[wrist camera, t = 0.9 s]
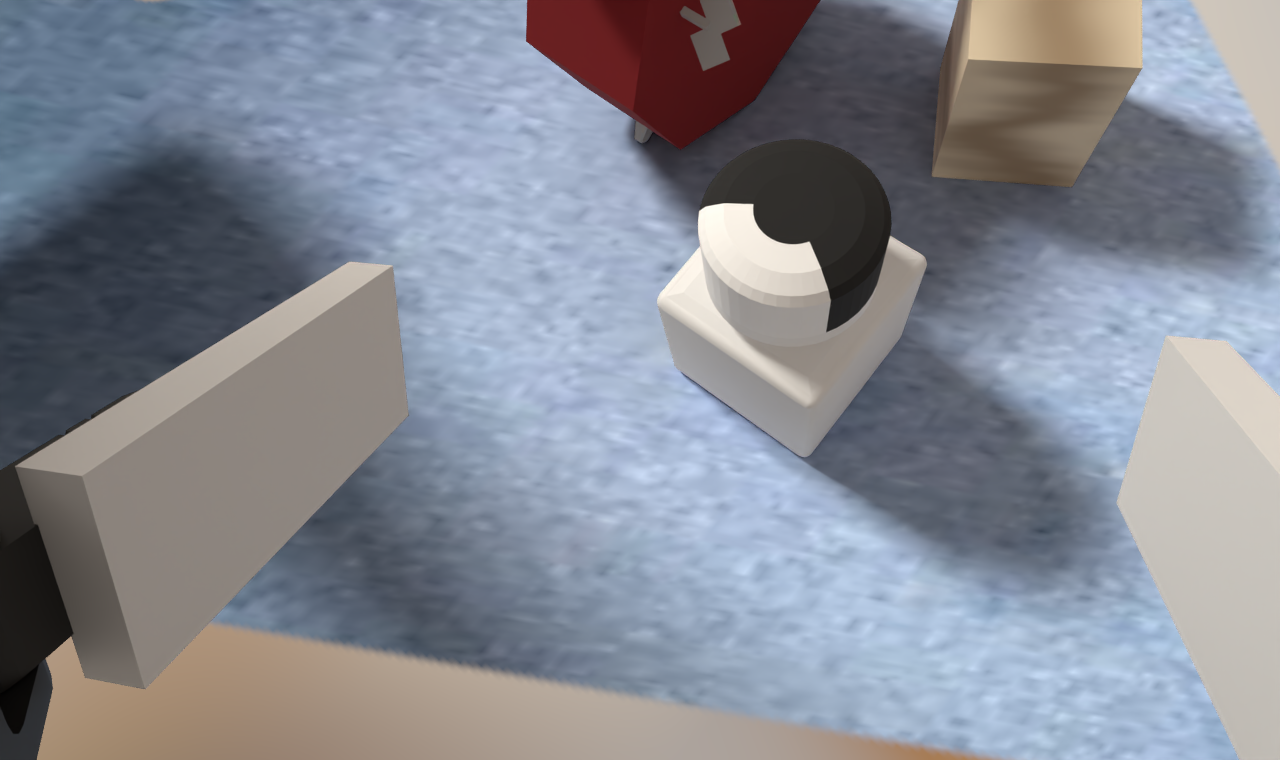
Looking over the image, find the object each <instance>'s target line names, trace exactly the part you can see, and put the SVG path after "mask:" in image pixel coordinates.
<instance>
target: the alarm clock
mask: <svg viewBox="0 0 1280 760" xmlns="http://www.w3.org/2000/svg"><path fill="white" fill-rule="evenodd" d="M819 2H820V0H527V30H526V41H527V42H528V43H529V44H530V45H532V46H533V47H534V48H536V49H537V50H538V51H539V52H541V53H542V54H543V55H545V56H546V57H547V58H549V59H550V60H551V61H552V62H554V63H555V64H556V65H558V66H559V67H560V68H561V69H563V70H564V71H565V72H567V73H568V74H569V75H571V76H572V77H573V78H574V79H576V80H577V81H578V82H580V83H581V84H582V85H584V86H585V87H586V88H588V89H589V90H591V91H592V92H594V93H595V94H597V95H598V96H600V97H601V98H603V99H604V100H606V101H607V102H609V103H610V104H612V105H614V106H615V107H617V108H618V109H620V110H621V111H623V112H624V113H626V114H627V115H629V116H630V117H632V118H633V119H635V120H636V122H635V137H634V139H636V140H637V141H639V142H640V143H644V142H647V141H648V139H649V138H650V136H651V134H652V132H654V133H656V134H657V135H659V136H660V137H662V138H663V139H665V140H666V141H668V142H669V143H671V144H672V145H674V146H675V147H677V148H679V149H680V150H681V149H682V148H684V147H685V146H687V145H688V144H690V143H691V142H693V141H694V140H696V139H697V138H699V137H700V136H702V135H703V134H705V133H706V132H708V131H709V130H711V129H712V128H714V127H715V126H717V125H718V124H720V123H721V122H723V121H724V120H726V119H727V118H729V117H730V116H732V115H733V114H735V113H736V112H738V111H739V110H741V109H742V108H744V107H745V106H747V105H748V104H750V103H751V102H753V101H754V100H755V99H756V97H757V96H758V94H759V93H760V91H761V90H762V88H763V86H764V85H765V83H766V82H767V80H768V79H769V77H770V76H771V74H772V73H773V71H774V70H775V68H776V67H777V65H778V64H779V62H780V61H781V59H782V58H783V56H784V55H785V53H786V52H787V50H788V49H789V47H790V46H791V44H792V43H793V41H794V40H795V38H796V37H797V35H798V34H799V32H800V30H801V29H802V27H803V26H804V24H805V23H806V21H807V20H808V18H809V17H810V15H811V14H812V12H813V11H814V9H815V8H816V6H817V5H818V3H819Z"/></svg>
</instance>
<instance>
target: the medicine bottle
mask: <svg viewBox="0 0 1280 760" xmlns="http://www.w3.org/2000/svg"><path fill="white" fill-rule="evenodd" d="M890 232H891V211H890V207H889V202H888V199H887V196H886V194H885V191H884V189H883V187H882V186H881V184H880V182H879V180H878V179H877V178H876V176H875V175H874V174H873V173H872V171H871V170H870V169H869V168H868V167H867V166H866V165H865V164H864V163H862V162H861V161H860V160H859V159H857V158H856V157H854V156H853V155H852V154H850V153H848V152H846V151H844V150H842V149H840V148H837V147H835V146H832V145H829V144H826V143H822V142H818V141H811V140H782V141H775V142H771V143H767V144H763V145H761V146H758V147H755V148H752V149H751V150H749V151H747V152H745V153H743V154H741V155H739V156H738V157H736V158H735V159H734V160H732V161H731V162H730V163H728V164H727V165H726V166H725V167H724V168H723V169H722V170H721V171H720V172H719V173H718V174H717V176H716V177H715V178H714V179H713V181H712V182H711V184H710V185H709V187H708V189H707V191H706V193H705V195H704V197H703V200H702V203H701V207H700V210H699V218H698V234H699V241H700V247H699V248H698V249H697V250H696V252H695V253H694V254H693V255H692V256H691V258H690V259H689V260H688V261H687V262H686V263H685V265H684V266H683V267H682V268H681V269H680V271H679V272H678V273H677V274H676V275H675V276H674V278H673V279H672V280H671V281H670V282H669V284H668V285H667V286H666V287H665V288H664V290H663V291H662V292H661V293H660V294H659V297H658V299H657V304H658V308H659V312H660V315H661V319H662V322H663V326H664V329H665V333H666V337H667V340H668V344H669V347H670V351H671V355H672V358H673V362H674V365H675V367H676V368H677V369H678V370H679V371H681V372H682V373H684V374H685V375H686V376H688V377H689V378H691V379H692V380H693V381H695V382H696V383H698V384H699V385H700V386H702V387H703V388H705V389H706V390H707V391H709V392H710V393H712V394H713V395H714V396H716V397H717V398H719V399H720V400H721V401H723V402H724V403H726V404H727V405H728V406H730V407H731V408H733V409H734V410H735V411H737V412H738V413H740V414H741V415H742V416H744V417H745V418H747V419H748V420H749V421H751V422H752V423H754V424H755V425H756V426H758V427H759V428H761V429H762V430H763V431H765V432H766V433H768V434H769V435H770V436H772V437H773V438H775V439H776V440H777V441H779V442H780V443H782V444H783V445H784V446H786V447H787V448H789V449H790V450H791V451H793V452H794V453H796V454H797V455H798V456H801V457H808V456H809V455H811V454H812V452H813V451H814V450H815V449H816V447H817V446H818V445H819V443H820V442H821V441H822V439H823V438H824V437H825V435H826V434H827V433H828V432H829V430H830V429H831V428H832V426H833V425H834V424H835V422H836V421H837V420H838V419H839V417H840V416H841V415H842V413H843V412H844V411H845V409H846V408H847V407H848V405H849V404H850V403H851V402H852V400H853V399H854V398H855V396H856V395H857V394H858V392H859V391H860V390H861V389H862V387H863V386H864V385H865V383H866V382H867V381H868V379H869V378H870V377H871V376H872V374H873V373H874V372H875V370H876V369H877V368H878V366H879V365H880V364H881V362H882V361H883V360H884V359H885V357H886V356H887V355H888V353H889V352H890V351H891V349H892V348H893V347H894V346H895V344H896V343H897V342H898V340H899V339H900V338H901V335H902V333H903V330H904V327H905V325H906V322H907V319H908V316H909V313H910V311H911V308H912V305H913V302H914V300H915V297H916V294H917V291H918V289H919V286H920V283H921V280H922V278H923V275H924V272H925V269H926V267H927V262H926V258H925V257H924V256H923V255H922V254H920V253H918V252H917V251H915V250H913V249H912V248H910V247H908V246H907V245H905V244H903V243H902V242H900V241H898V240H897V239H895V238H893V237H892V236H890Z"/></svg>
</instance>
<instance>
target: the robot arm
mask: <svg viewBox="0 0 1280 760" xmlns="http://www.w3.org/2000/svg"><path fill="white" fill-rule="evenodd" d="M408 416H409V414H408V404H407V395H406V386H405V376H404V367H403V357H402V348H401V339H400V329H399V320H398V310H397V301H396V292H395V282H394V273H393V266H392V265H381V264H370V263H359V262H348V263H346V264H345V265H343V266H342V267H340V268H338V269H337V270H335V271H333V272H332V273H330V274H328V275H327V276H325V277H324V278H322V279H320V280H319V281H317V282H315V283H314V284H312V285H311V286H309V287H307V288H306V289H304V290H302V291H301V292H299V293H297V294H296V295H294V296H293V297H291V298H289V299H288V300H286V301H284V302H283V303H281V304H279V305H278V306H276V307H275V308H273V309H271V310H270V311H268V312H266V313H265V314H263V315H261V316H260V317H258V318H257V319H255V320H253V321H252V322H250V323H248V324H247V325H245V326H243V327H242V328H240V329H239V330H237V331H235V332H234V333H232V334H230V335H229V336H227V337H226V338H224V339H222V340H221V341H219V342H217V343H216V344H214V345H212V346H211V347H209V348H208V349H206V350H204V351H203V352H201V353H199V354H198V355H196V356H194V357H193V358H191V359H190V360H188V361H186V362H185V363H183V364H181V365H180V366H178V367H176V368H175V369H173V370H172V371H170V372H168V373H167V374H165V375H163V376H162V377H160V378H158V379H157V380H155V381H154V382H152V383H150V384H149V385H147V386H145V387H144V388H142V389H141V390H138V391H136V392H133V393H130V394H127V395H125V396H122V397H121V398H119V399H117V400H116V401H114V402H112V403H111V404H109V405H107V406H106V407H104V408H102V409H101V410H99V411H97V412H96V413H94V414H92V415H91V419H84V420H83V421H81V422H79V423H78V424H76V425H74V426H73V427H71V428H69V429H68V430H66V434H65V435H58V436H56V437H55V438H53V439H51V440H50V441H48V442H46V443H45V444H43V445H41V446H40V447H38V448H36V449H35V450H33V451H31V452H30V453H28V454H26V455H25V456H23V457H22V458H20V459H18V460H17V461H15V462H13V463H12V464H10V465H8V466H7V467H5V468H3V469H2V470H0V760H37V755H38V751H39V747H40V742H41V738H42V733H43V729H44V725H45V720H46V716H47V712H48V707H49V703H50V698H51V694H52V689H53V687H52V678H51V673H50V670H49V667H48V665H47V662H46V659H45V658H46V657H48V656H49V655H50V654H51V653H52V652H53V651H54V650H56V649H57V648H58V647H59V646H60V645H61V644H63V642H65V641H66V640H67V639H68V638H69V637H70V636H71V637H72V639H73V643H74V645H75V649H76V651H77V655H78V657H79V660H80V664H81V667H82V669H83V673H84V676H85V678H90V679H95V680H100V681H105V682H110V683H115V684H120V685H125V686H131V687H136V688H141V689H146V688H147V687H148V686H149V684H151V683H152V682H153V681H154V679H155V678H156V677H157V676H158V675H159V674H160V673H161V672H162V671H163V670H164V669H165V668H166V667H167V666H168V665H169V664H170V663H171V662H172V661H173V660H174V659H175V658H176V657H177V656H178V654H180V652H181V651H182V650H183V649H184V648H185V647H186V646H187V645H188V644H189V643H190V642H191V641H192V640H193V639H194V638H195V637H196V636H197V635H198V634H199V633H200V632H201V631H202V630H203V629H204V628H205V627H206V626H207V624H208V623H209V622H210V621H211V620H212V619H213V618H214V617H215V616H216V615H217V614H218V613H219V612H220V611H221V610H222V609H223V608H224V607H225V606H226V605H227V604H228V603H229V602H230V601H231V600H232V599H233V597H234V596H235V595H236V594H237V593H238V592H239V591H240V590H241V589H242V588H243V587H244V586H245V585H246V584H247V583H248V582H249V581H250V580H251V579H252V578H253V577H254V576H255V575H256V574H257V573H258V571H259V570H260V569H261V568H262V567H263V566H264V565H265V564H266V563H267V562H268V561H269V560H270V559H271V558H272V557H273V556H274V555H275V554H276V553H277V552H278V551H279V550H280V549H281V548H282V547H283V546H284V544H285V543H286V542H287V541H288V540H289V539H290V538H291V537H292V536H293V535H294V534H295V533H296V532H297V531H298V530H299V529H300V528H301V527H302V526H303V525H304V524H305V523H306V522H307V521H308V520H309V519H310V517H311V516H312V515H313V514H314V513H315V512H316V511H317V510H318V509H319V508H320V507H321V506H322V505H323V504H324V503H325V502H326V501H327V500H328V499H329V498H330V497H331V496H332V495H333V494H334V493H335V491H336V490H337V489H338V488H339V487H340V486H341V485H342V484H343V483H344V482H345V481H346V480H347V479H348V478H349V477H350V476H351V475H352V474H353V473H354V472H355V471H356V470H357V469H358V468H359V467H360V466H361V464H362V463H363V462H364V461H365V460H366V459H367V458H368V457H369V456H370V455H371V454H372V453H373V452H374V451H375V450H376V449H377V448H378V447H379V446H380V445H381V444H382V443H383V442H384V441H385V440H386V439H387V437H388V436H389V435H390V434H391V433H392V432H393V431H394V430H395V429H396V428H397V427H398V426H399V425H400V424H401V423H402V422H403V421H404V420H405V419H406V418H407V417H408ZM1117 505H1118V507H1119V509H1120V511H1121V513H1122V515H1123V517H1124V519H1125V521H1126V523H1127V526H1128V528H1129V530H1130V532H1131V534H1132V536H1133V538H1134V540H1135V542H1136V544H1137V546H1138V549H1139V551H1140V553H1141V555H1142V557H1143V559H1144V561H1145V563H1146V565H1147V567H1148V569H1149V572H1150V574H1151V576H1152V578H1153V580H1154V582H1155V584H1156V586H1157V588H1158V590H1159V592H1160V594H1161V597H1162V599H1163V601H1164V603H1165V605H1166V607H1167V609H1168V611H1169V613H1170V615H1171V617H1172V620H1173V622H1174V624H1175V626H1176V628H1177V630H1178V632H1179V634H1180V636H1181V638H1182V640H1183V642H1184V645H1185V647H1186V649H1187V651H1188V653H1189V655H1190V657H1191V659H1192V661H1193V663H1194V665H1195V668H1196V670H1197V672H1198V674H1199V676H1200V678H1201V680H1202V682H1203V684H1204V686H1205V688H1206V691H1207V693H1208V695H1209V697H1210V699H1211V701H1212V703H1213V705H1214V707H1215V709H1216V711H1217V713H1218V716H1219V718H1220V720H1221V722H1222V724H1223V726H1224V728H1225V730H1226V732H1227V734H1228V736H1229V739H1230V741H1231V743H1232V745H1233V747H1234V749H1235V751H1236V753H1237V755H1238V757H1239V759H1240V760H1280V396H1279V395H1278V394H1277V393H1276V392H1275V391H1274V390H1273V389H1272V388H1271V387H1270V386H1269V385H1268V384H1267V383H1266V382H1265V381H1264V380H1263V379H1262V378H1261V377H1260V376H1259V375H1258V374H1257V372H1256V371H1255V370H1254V369H1253V368H1252V367H1251V366H1250V365H1249V364H1248V363H1247V362H1246V361H1245V360H1244V359H1243V358H1242V357H1241V356H1240V355H1239V354H1238V353H1237V352H1236V351H1235V350H1234V349H1233V348H1232V346H1231V345H1230V344H1229V343H1228V342H1227V341H1219V340H1208V339H1197V338H1186V337H1175V336H1166V337H1165V340H1164V344H1163V347H1162V351H1161V354H1160V357H1159V361H1158V364H1157V367H1156V371H1155V374H1154V378H1153V381H1152V384H1151V388H1150V391H1149V394H1148V398H1147V401H1146V405H1145V408H1144V411H1143V415H1142V418H1141V421H1140V425H1139V428H1138V432H1137V435H1136V438H1135V442H1134V445H1133V448H1132V452H1131V455H1130V459H1129V462H1128V465H1127V469H1126V472H1125V475H1124V479H1123V482H1122V486H1121V489H1120V492H1119V496H1118V499H1117Z"/></svg>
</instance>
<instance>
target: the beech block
mask: <svg viewBox="0 0 1280 760" xmlns="http://www.w3.org/2000/svg"><path fill="white" fill-rule="evenodd" d="M1141 69H1142V0H959V1H958V5H957V8H956V12H955V16H954V19H953V23H952V27H951V30H950V34H949V38H948V41H947V45H946V49H945V52H944V56H943V60H942V63H941V67H940V78H939V90H938V103H937V115H936V128H935V140H934V153H933V165H932V177H941V178H955V179H968V180H982V181H995V182H1009V183H1022V184H1036V185H1050V186H1063V187H1072V186H1073V185H1074V183H1075V181H1076V180H1077V178H1078V176H1079V174H1080V173H1081V171H1082V169H1083V168H1084V166H1085V164H1086V163H1087V161H1088V159H1089V157H1090V156H1091V154H1092V152H1093V151H1094V149H1095V147H1096V146H1097V144H1098V142H1099V141H1100V139H1101V137H1102V135H1103V134H1104V132H1105V130H1106V129H1107V127H1108V125H1109V124H1110V122H1111V120H1112V119H1113V117H1114V115H1115V113H1116V112H1117V110H1118V108H1119V107H1120V105H1121V103H1122V102H1123V100H1124V98H1125V97H1126V95H1127V93H1128V91H1129V90H1130V88H1131V86H1132V85H1133V83H1134V81H1135V80H1136V78H1137V76H1138V75H1139V73H1140V71H1141Z"/></svg>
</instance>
